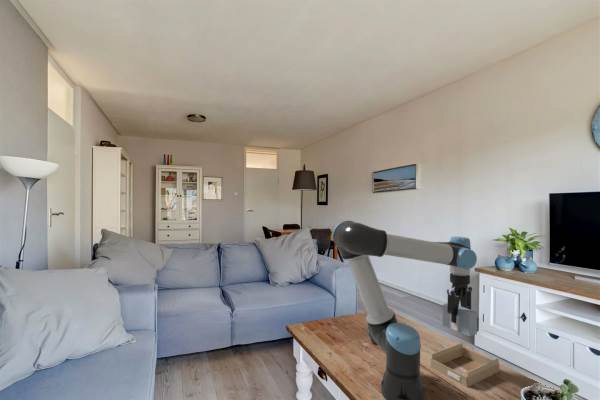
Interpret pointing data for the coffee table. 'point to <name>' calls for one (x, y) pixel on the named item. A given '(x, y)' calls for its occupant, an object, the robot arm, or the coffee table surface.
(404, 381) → the robot arm
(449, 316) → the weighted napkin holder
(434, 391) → the coffee table surface
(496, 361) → the wooden tray
